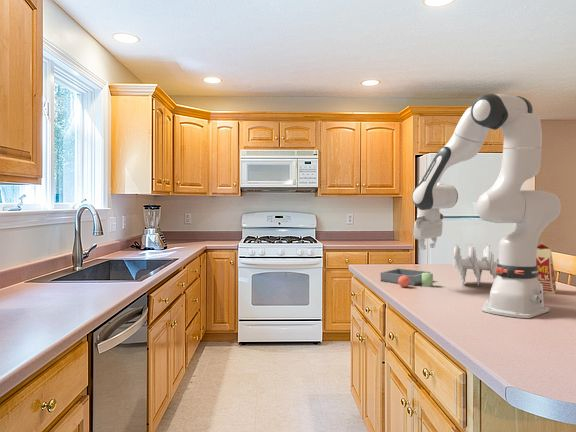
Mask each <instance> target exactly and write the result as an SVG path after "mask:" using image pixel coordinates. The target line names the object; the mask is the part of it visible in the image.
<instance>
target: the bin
mask: <svg viewBox="0 0 576 432" xmlns="http://www.w3.org/2000/svg"><path fill="white" fill-rule="evenodd" d="M422 273H431V271H424V270H415V269H406V268H399V267H398V268H394V269H390V270H385V271H381V272H380V282H384V283H389V284H390V283H391V284H397V285H399V283H398V279H399V277H401V276H407V277H408V278H409V279H410V284H409V285H408V286H411V287H412V286H413V287H414V286H417V285H422Z"/></svg>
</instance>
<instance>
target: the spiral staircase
mask: <svg viewBox="0 0 576 432" xmlns="http://www.w3.org/2000/svg"><path fill="white" fill-rule="evenodd" d="M467 253H468V254H467V256H466V259H465V258H462V255H461V248H460V245H458V243H455V246H454V247H453V268H455V269H456V268H457V270H458V273H459V275H460V277H461V285H462V286H463V285H464V284H465V282H466V276H467V272H468V270H472V271H473V275H474V276H475V278H476V282H477V285H476V286H477V287H479V286H480V285H481V278H482V272H483V271H488V272H489V274H490V275H491V276H492V277H493V279H492V280H494V279H495V278H496V277H497V275H496V272H495V270H496V267H497V264H498V263H499V254H498V258H497V259H496V261H495V254H494V253H493V249H492V247H491V245H488V244H486V246H485V248H483V253H482V257H480V258H481V259H479V260H478V257H477V249H475V246H474V245H473V244H470V246H468V252H467Z"/></svg>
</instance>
